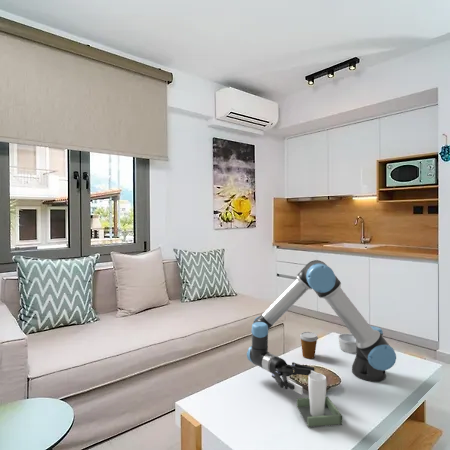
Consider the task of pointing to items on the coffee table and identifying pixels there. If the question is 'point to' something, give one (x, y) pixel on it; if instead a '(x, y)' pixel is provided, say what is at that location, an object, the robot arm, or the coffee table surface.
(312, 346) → the disposable coffee cup
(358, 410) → the coffee table surface
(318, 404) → the drinking glass
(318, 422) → the tray
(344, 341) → the ramekin
